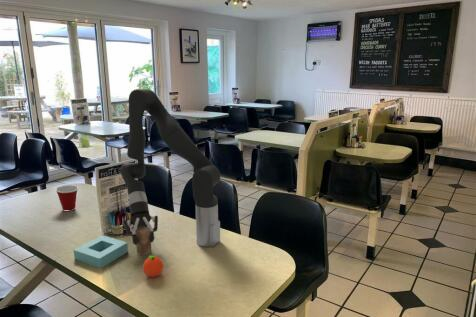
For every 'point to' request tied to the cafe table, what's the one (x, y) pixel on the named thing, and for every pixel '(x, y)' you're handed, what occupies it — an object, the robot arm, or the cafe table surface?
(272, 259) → the cafe table surface
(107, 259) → the socket block
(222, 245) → the cafe table surface
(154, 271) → the clementine
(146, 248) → the peg
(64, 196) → the plastic cup
